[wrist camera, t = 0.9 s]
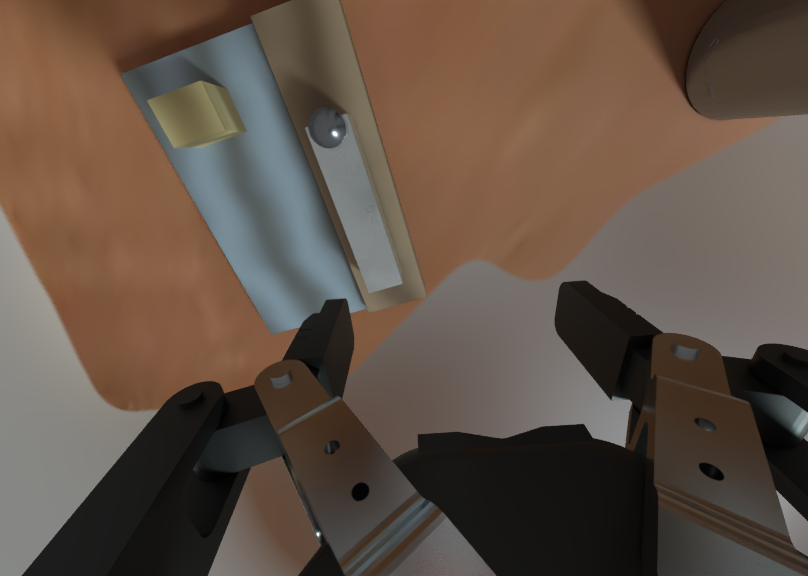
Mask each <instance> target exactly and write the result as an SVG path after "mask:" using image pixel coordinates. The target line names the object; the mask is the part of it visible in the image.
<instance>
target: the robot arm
mask: <svg viewBox="0 0 808 576" xmlns="http://www.w3.org/2000/svg"><path fill="white" fill-rule="evenodd" d="M686 89H687V93H688V97H689V100H690V102H691V103H692V105H693V107H694V108H695V109H696V110H697V111H698V112H699V113H700V114H701V115H703V116H705V117H707V118H710V119H716V120H728V119H743V118H758V117H777V116H791V115H804V114H808V0H726V1H725V2H724V3H723V4H722V5H721V6H720V7H719V8H718V9H717V10H716V12H715V13H714V14H713V15H712V16H711V17H710V19H709V20H708V22H707V23H706V24H705V26H704V27H703V29H702V30H701V32H700V34H699V36H698V38H697V40H696V42H695V44H694V46H693V49H692V52H691V54H690V57H689V60H688V66H687V72H686ZM555 328H556V331H557V334H558V335H559V336H560V338H561V339H562V340H563V341H564V342H565V344H566V345H567V346H568V348H569V349H570V350H571V351H572V352H573V354H574V355H575V356H576V357H577V359H578V360H579V361H580V362H581V364H582V365H583V366H584V367H585V369H586V370H587V371H588V372H589V374H590V375H591V376H592V377H593V379H594V380H595V381H596V382H597V383H598V385H599V386H600V387H601V388H602V390H603V391H604V392H605V393H606V395H607V396H608V397H609V398H610V399H611V400H612V401H613V400H628V399H630V400H631V402H632V405H631V408H630V411H629V418H628V426H627V435H626V443H625V448H624V447H622V446H619V445H616V444H614V443H611V442H607V441H603V440H599V439H594V438H592V436H591V435H590V433H589V431H588V430H587V428H586V427H585V425H584V424H577V425H560V426H545V427H540V428H537V429H533V430H530V431H527V432H524V433H521V434H518V435H515V436H512V437H509V438H504V439H500V438H493V437H487V436H481V435H474V434H468V433H461V432H448V433H433V434H418V448H416V449H413V450H410V451H408V452H406V453H404V454H402V455H400V456H398V457H397V458H395V459H394V460H391V459H390V457H389V456H388V455H387V454H386V453H385V451H384V450H383V449H382V448H381V446H380V445H379V444H378V443H377V441H376V440H375V439H374V438H373V436H372V435H371V434H370V433H369V432H368V430H367V429H366V428H365V427H364V425H363V424H362V423H361V422H360V421H359V419H358V418H357V417H356V416H355V414H354V413H353V412H352V411H351V409H350V408H349V407H348V406H347V404H346V403H345V402H344V401H343V400H342V397H343V393H344V388H345V385H346V380H347V376H348V372H349V367H350V363H351V359H352V354H353V350H354V333H353V327H352V322H351V316H350V311H349V305H348V301H347V299H346V298H342V299H328V300H326V301H325V303H324V305H323V307H322V309H321V311H320V313H313V314H312V315H310V316H309V317H308V318H307V319H305V320H304V321H303V323H302V325H301V327H300V328H299V331H298V332H297V334H296V336H295V339H293V341H292V343H291V345H290V347H289V349H288V350H287V352H286V354H285V356H284V358H283V360H282V361H280V362H277V363H274V364H272V365H270V366H268V367H267V368H265V369H264V370H263V371H262V372H261V373H260V374H259V375H258V376H257V378H256V379H255V382H254V385H252V386H249V387H245V388H242V389H238V390H235V391H231V392H228V393H224V391H223V389H222V387H221V385H220V384H219V383H217V382H213V381H206V382H200V383H196V384H194V385H191V386H189V387H186V388H184V389H182V390H181V391H179V392H177V393H176V394H175V395H173V396H172V397H171V398H170V399H168V400H167V402H166V403H165V404H164V405H163V406H162V407H161V409H160V410H159V411H158V412H157V414H156V415H155V416H154V417H153V418H152V419H151V421H150V422H149V423H148V424H147V425H146V427H145V428H144V429H143V431H142V432H141V433H140V434H139V435H138V436H137V438H136V439H135V440H134V441H133V442H132V443H131V445H130V446H129V447H128V448H127V450H126V451H125V452H124V453H123V454H122V456H121V457H120V458H119V459H118V460H117V462H116V463H115V464H114V465H113V466H112V468H111V469H110V470H109V471H108V472H107V474H106V475H105V476H104V477H103V479H102V480H101V481H100V482H99V483H98V484H97V486H96V487H95V488H94V489H93V490H92V492H91V493H90V494H89V495H88V497H87V498H86V499H85V500H84V502H83V503H82V504H81V505H80V506H79V507H78V509H77V510H76V511H75V512H74V513H73V515H72V516H71V517H70V518H69V519H68V521H67V522H66V523H65V524H64V525H63V527H62V528H61V529H60V530H59V531H58V533H57V534H56V535H55V536H54V538H53V539H52V540H51V541H50V542H49V544H48V545H47V546H46V547H45V548H44V550H43V551H42V552H41V553H40V554H39V556H38V557H37V558H36V559H35V560H34V562H33V563H32V564H31V565H30V566H29V568H28V569H27V570H26V571H25V572H24V574H23V575H22V576H208V573H209V571H210V568H211V566H212V564H213V561H214V558H215V556H216V554H217V551H218V549H219V546H220V543H221V541H222V539H223V536H224V534H225V531H226V528H227V526H228V524H229V521H230V518H231V516H232V514H233V511H234V509H235V506H236V504H237V501H238V499H239V496H240V493H241V491H242V489H243V486H244V484H245V481H246V479H247V476H248V474H249V471H250V468H251V467H252V466H255V465H258V464H261V463H264V462H266V461H269V460H272V459H274V458H277V457H280V456H281V457H282V459H283V461H284V464H285V466H286V468H287V470H288V472H289V474H290V477H291V479H292V481H293V484H294V486H295V488H296V490H297V493H298V495H299V497H300V499H301V501H302V504H303V506H304V508H305V511H306V513H307V516H308V518H309V520H310V523H311V525H312V528H313V530H314V532H315V535H316V537H317V539H318V541H319V544H320V546H321V547H320V548H319V549H318V551H317V552H316V553H315V554H314V556H313V557H312V558H311V560H310V561H309V562H308V564H307V565H306V566H305V567H304V569H303V570H302V571H301V573H300V574H299V575H298V576H808V556H806V555H804V554H803V553H801V552H799V551H798V550H796V549H795V547H794V546H793V544H792V542H791V539H790V536H789V532H788V529H787V526H786V522H785V519H784V515H783V512H782V509H781V505H780V502H779V499H778V496H777V492H776V490H777V491H778V492H779V493H780V494H781V495H782V496H783V497H784V498H785V499H786V500H787V501H788V502H789V503H790V504H791V505H792V506H793V507H794V508H795V509H796V510H797V511H798V512H799V513H800V514H801V515H802V516H803V517H804V518H805V519H806V520H807V521H808V441H806V440H805V439H804V437H805V435H806V434H807V432H808V350H805V349H802V348H798V347H794V346H789V345H783V344H763V345H760V346H759V347H758V348H757V350H756V352H755V354H754V356H753V358H752V359H743V358H735V357H725V356H721V354H720V352H719V351H718V350H717V349H716V348H714V347H713V346H711V345H710V344H708V343H706V342H704V341H701V340H699V339H697V338H694V337H691V336H687V335H682V334H675V333H663V332H662V331H660V330H659V329H657V328H656V327H655V326H653V325H652V324H651V323H649V322H648V321H647V320H645V319H644V318H642V317H641V316H640V315H638V314H637V315H636V312H634V311H633V310H632V309H630V308H627V306H626V305H625V304H623V303H622V302H621V301H619V300H618V299H616V298H614V297H612V296H609V295H607V294H605V293H602V292H600V291H599V290H598V289H596V288H595V287H594V286H592V285H591V284H590V283H588V282H587V281H572V282H563V283H562V284H561V285H560V288H559V294H558V300H557V307H556V313H555Z"/></svg>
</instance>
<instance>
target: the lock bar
mask: <svg viewBox="0 0 808 576" xmlns="http://www.w3.org/2000/svg"><path fill="white" fill-rule="evenodd" d="M305 130H306V132H307V135H308V137H309V140H310V142H311V145H312V148H313V150H314V153H315V155H316V158H317V161H318V163H319V166H320V168H321V171H322V173H323V176H324V179H325V181H326V184H327V186H328V189H329V192H330V194H331V197H332V199H333V202H334V204H335V207H336V210H337V212H338V215H339V217H340V220H341V222H342V225H343V228H344V230H345V233H346V235H347V238H348V241H349V243H350V246H351V248H352V251H353V253H354V256H355V259H356V261H357V264H358V266H359V269H360V272H361V274H362V277H363V279H364V282H365V284H366V287H367V290H368V292H369V293H372V292H375V291H379V290H383V289H386V288H390V287H393V286H397V285H400V284H403V279H402V269H401V266H400V263H399V260H398V257H397V253H396V250H395V247H394V244H393V241H392V238H391V235H390V232H389V229H388V226H387V222H386V219H385V216H384V213H383V210H382V207H381V204H380V201H379V198H378V195H377V191H376V188H375V185H374V182H373V179H372V176H371V173H370V170H369V167H368V164H367V160H366V157H365V154H364V151H363V148H362V145H361V142H360V139H359V136H358V133H357V130H356V126H355V123H354V120H353V117H352V116H350V115H349V114H347V113H346V114H343V115H340V114H339V113H338V112H337V111H335V110H333V109H331V108H328V107H321V108H318V109H316V110H315V111H314V112H313V113H312V114H311V116H310V118H309V122H308V127H305Z"/></svg>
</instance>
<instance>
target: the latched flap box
mask: <svg viewBox="0 0 808 576" xmlns="http://www.w3.org/2000/svg"><path fill="white" fill-rule="evenodd" d="M250 17H251V19H252V22H253V23H251V24H249V25H246V26H243V27H241V28H238V29H236V30H233V31H231V32H228V33H225V34H223V35H220V36H218V37H215V38H212V39H210V40H207V41H205V42H202V43H199V44H197V45H194V46H192V47H189V48H187V49H184V50H181V51H179V52H176V53H174V54H171V55H168V56H166V57H163V58H161V59H158V60H156V61H153V62H150V63H148V64H145V65H143V66H140V67H137V68H135V69H132V70H130V71H127V72H124V73H122V74H120V75H121V77H122V79H123V80H124V82H125V84H126V85H127V87H128V89H129V91H130V92H131V94H132V96H133V97H134V99H135V101H136V103H137V104H138V106H139V108H140V109H141V111H142V113H143V115H144V116H145V118H146V120H147V122H148V123H149V125H150V127H151V128H152V130H153V132H154V134H155V135H156V137H157V139H158V140H159V142H160V144H161V146H162V147H163V149H164V151H165V152H166V154H167V156H168V158H169V159H170V161H171V163H172V164H173V166H174V168H175V170H176V171H177V173H178V175H179V177H180V178H181V180H182V182H183V183H184V185H185V187H186V189H187V190H188V192H189V194H190V195H191V197H192V199H193V201H194V202H195V204H196V206H197V207H198V209H199V211H200V213H201V214H202V216H203V218H204V219H205V221H206V223H207V225H208V226H209V228H210V230H211V232H212V233H213V235H214V237H215V238H216V240H217V242H218V244H219V245H220V247H221V249H222V250H223V252H224V254H225V256H226V257H227V259H228V261H229V262H230V264H231V266H232V268H233V269H234V271H235V273H236V274H237V276H238V278H239V280H240V281H241V283H242V285H243V287H244V288H245V290H246V292H247V293H248V295H249V297H250V299H251V300H252V302H253V304H254V305H255V307H256V309H257V311H258V312H259V314H260V316H261V317H262V319H263V321H264V323H265V324H266V326H267V328H268V329H269V331H270V333H271V335H273V334H276V333H280V332H284V331H287V330H291V329H294V328H298V327H301V325H302V323H303V321H304V320H305V319H307V318H308V317H309V316H310V315H312V314H313V313H320V311H321V309H322V307H323V305H324V303H325V301H326V300H328V299H342V298H346V299H347V301H348V305H349V311H350V313H352V312H356V311H360V310H363V309H368V312H373V311H376V310H380V309H384V308H387V307H391V306H395V305H398V304H402V303H406V302H409V301H413V300H417V299H420V298H424V297H427V295H426V291H425V286H424V282H423V279H422V275H421V272H420V268H419V265H418V262H417V258H416V255H415V251H414V248H413V245H412V241H411V238H410V235H409V231H408V228H407V224H406V221H405V218H404V214H403V211H402V207H401V204H400V201H399V197H398V194H397V190H396V187H395V184H394V180H393V177H392V173H391V170H390V167H389V163H388V160H387V157H386V153H385V150H384V146H383V143H382V140H381V136H380V133H379V129H378V126H377V123H376V119H375V116H374V112H373V109H372V106H371V102H370V99H369V95H368V92H367V89H366V85H365V82H364V79H363V75H362V72H361V68H360V65H359V62H358V58H357V55H356V51H355V48H354V45H353V41H352V38H351V34H350V31H349V28H348V24H347V21H346V18H345V14H344V11H343V7H342V4H341V1H340V0H291V1H288V2H285V3H283V4H280V5H278V6H275V7H273V8H270V9H267V10H265V11H262V12H260V13H257V14H255V15H252V16H250ZM321 107H328V108H331V109H333V110H335V111H337V112H338V113H339V114H340V115H343V114H346V113H347V114H349V115H350V116H352V117H353V120H354V123H355V126H356V130H357V133H358V136H359V139H360V142H361V145H362V148H363V151H364V154H365V157H366V160H367V164H368V167H369V170H370V173H371V176H372V179H373V182H374V185H375V188H376V191H377V195H378V198H379V201H380V204H381V207H382V210H383V213H384V216H385V219H386V222H387V226H388V229H389V232H390V235H391V238H392V241H393V244H394V247H395V250H396V253H397V257H398V260H399V263H400V266H401V269H402V279H403V284H400V285H397V286H393V287H390V288H386V289H383V290H379V291H375V292H372V293H369V292H368V290H367V287H366V284H365V282H364V279H363V277H362V274H361V272H360V269H359V266H358V264H357V261H356V259H355V256H354V253H353V251H352V248H351V246H350V243H349V241H348V238H347V235H346V233H345V230H344V228H343V225H342V222H341V220H340V217H339V215H338V212H337V210H336V207H335V204H334V202H333V199H332V197H331V194H330V192H329V189H328V186H327V184H326V181H325V179H324V176H323V173H322V171H321V168H320V166H319V163H318V161H317V158H316V155H315V153H314V150H313V148H312V145H311V142H310V140H309V137H308V135H307V132H306V130H305V127H308V122H309V118H310V116H311V114H312V113H313V112H314V111H315V110H316V109H318V108H321Z"/></svg>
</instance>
